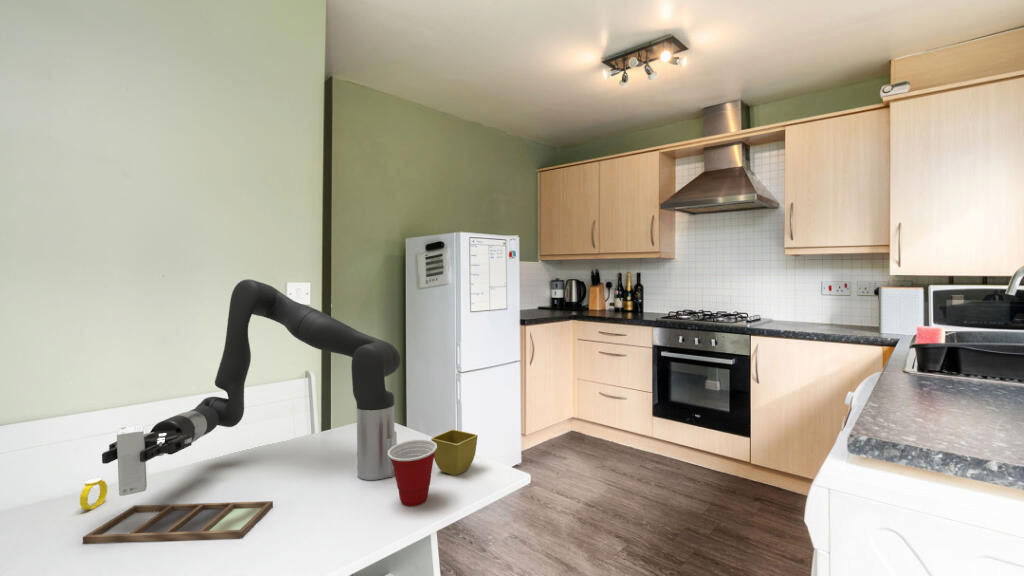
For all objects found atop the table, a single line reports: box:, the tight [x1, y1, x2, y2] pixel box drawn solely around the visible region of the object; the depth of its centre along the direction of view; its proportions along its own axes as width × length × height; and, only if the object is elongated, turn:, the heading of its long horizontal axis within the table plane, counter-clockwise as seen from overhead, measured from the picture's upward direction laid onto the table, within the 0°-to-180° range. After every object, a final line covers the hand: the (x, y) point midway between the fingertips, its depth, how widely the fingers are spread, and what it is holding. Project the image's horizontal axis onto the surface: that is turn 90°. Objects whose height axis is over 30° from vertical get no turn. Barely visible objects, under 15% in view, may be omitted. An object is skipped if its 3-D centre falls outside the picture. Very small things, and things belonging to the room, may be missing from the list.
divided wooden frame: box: [82, 500, 274, 545], centre depth 94 cm, size 29×13×1 cm, turn 92°
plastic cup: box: [388, 438, 437, 507], centre depth 103 cm, size 11×11×12 cm
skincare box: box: [116, 424, 147, 497], centre depth 93 cm, size 6×4×12 cm
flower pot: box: [430, 429, 478, 476], centre depth 119 cm, size 9×9×9 cm
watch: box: [79, 477, 108, 511], centre depth 102 cm, size 6×3×6 cm, turn 7°
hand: (123, 457), depth 91 cm, fingers closed on skincare box, 6 cm apart
